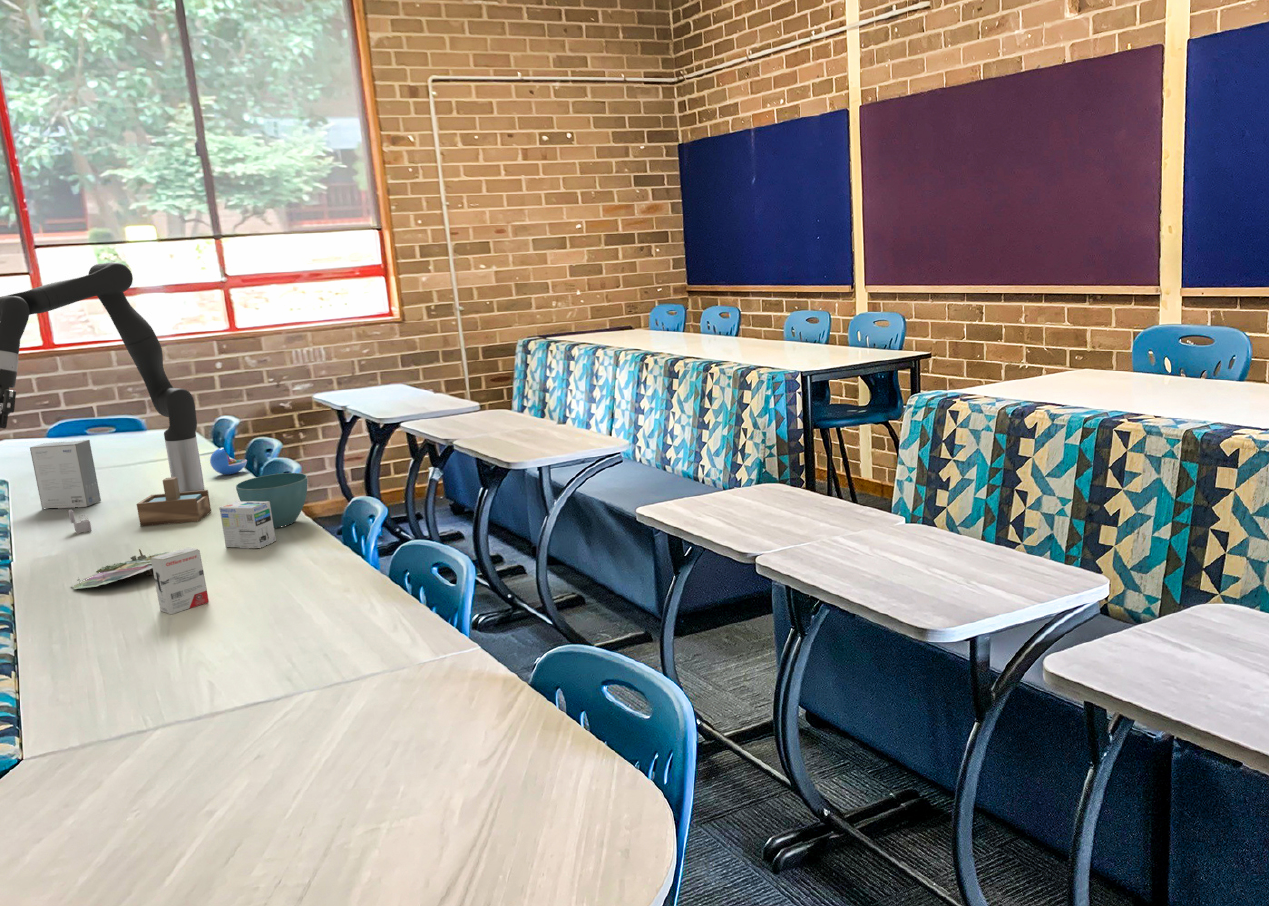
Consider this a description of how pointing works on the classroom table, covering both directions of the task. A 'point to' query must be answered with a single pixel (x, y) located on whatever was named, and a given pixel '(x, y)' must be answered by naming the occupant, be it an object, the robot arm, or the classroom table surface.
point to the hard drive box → (65, 474)
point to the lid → (173, 491)
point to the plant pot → (277, 495)
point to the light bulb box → (247, 524)
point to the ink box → (179, 580)
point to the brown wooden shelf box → (173, 509)
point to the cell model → (225, 463)
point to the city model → (120, 571)
